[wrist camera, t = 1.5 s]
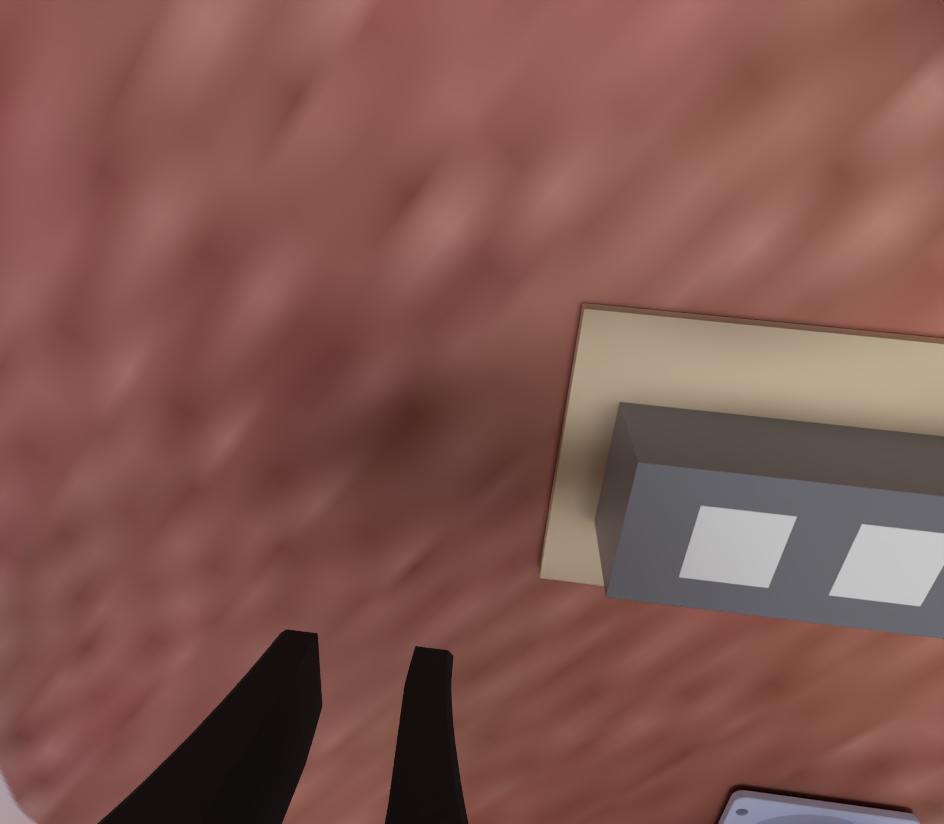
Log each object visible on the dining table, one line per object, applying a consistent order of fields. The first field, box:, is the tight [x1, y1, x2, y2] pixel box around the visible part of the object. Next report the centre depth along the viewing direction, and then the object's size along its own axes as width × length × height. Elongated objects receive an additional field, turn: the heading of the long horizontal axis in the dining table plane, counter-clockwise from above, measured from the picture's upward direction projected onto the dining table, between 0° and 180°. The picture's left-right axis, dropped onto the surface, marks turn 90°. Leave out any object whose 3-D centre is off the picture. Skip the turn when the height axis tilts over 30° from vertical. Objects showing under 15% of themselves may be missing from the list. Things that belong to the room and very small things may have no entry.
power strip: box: [594, 402, 944, 639], centre depth 17 cm, size 4×14×4 cm, turn 86°
